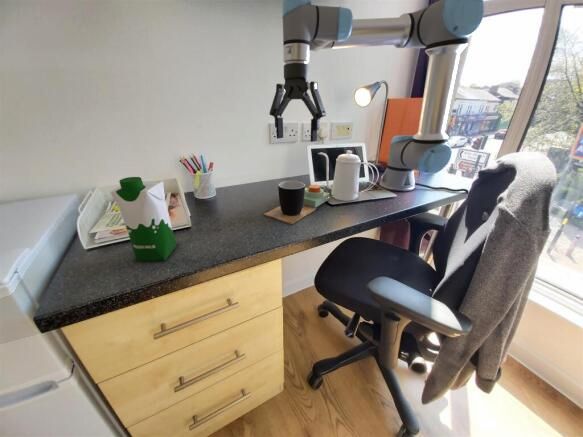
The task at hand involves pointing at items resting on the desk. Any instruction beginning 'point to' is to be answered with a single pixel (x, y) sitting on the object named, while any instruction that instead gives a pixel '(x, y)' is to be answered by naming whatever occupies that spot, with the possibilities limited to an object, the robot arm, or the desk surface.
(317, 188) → the switch
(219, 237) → the desk surface
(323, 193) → the push button box
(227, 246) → the desk surface
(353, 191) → the coffeepot
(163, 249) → the milk carton
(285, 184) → the mug
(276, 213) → the coaster
